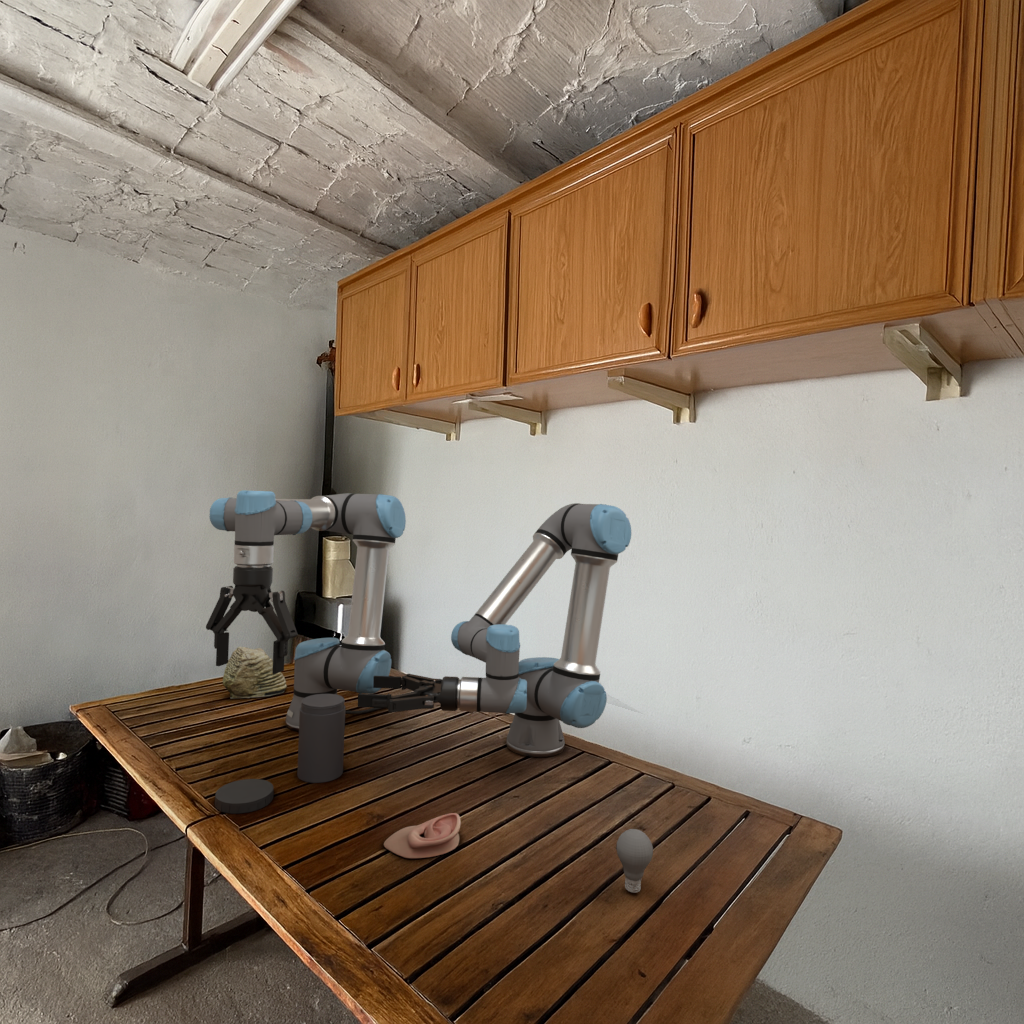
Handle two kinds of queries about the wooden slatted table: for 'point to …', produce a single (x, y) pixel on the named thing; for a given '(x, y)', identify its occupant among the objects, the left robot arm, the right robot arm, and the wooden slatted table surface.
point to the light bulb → (634, 857)
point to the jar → (321, 738)
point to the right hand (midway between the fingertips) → (366, 690)
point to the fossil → (252, 674)
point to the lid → (244, 796)
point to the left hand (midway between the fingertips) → (249, 668)
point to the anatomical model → (426, 838)
